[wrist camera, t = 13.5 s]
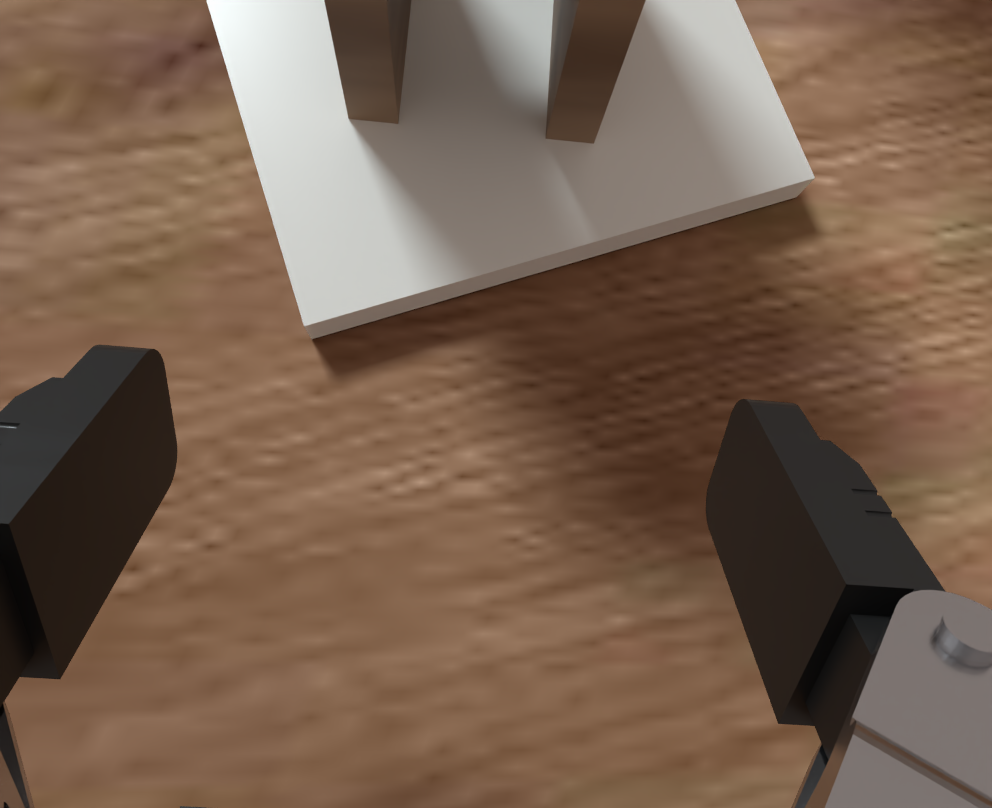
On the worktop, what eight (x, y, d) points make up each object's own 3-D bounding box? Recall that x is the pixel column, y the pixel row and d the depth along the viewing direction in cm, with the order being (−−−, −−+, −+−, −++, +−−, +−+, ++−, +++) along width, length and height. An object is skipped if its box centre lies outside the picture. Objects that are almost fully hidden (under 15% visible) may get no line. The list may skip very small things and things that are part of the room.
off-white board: (311, 339, 18) (303, 326, 17) (178, -103, 20) (165, -136, 19) (796, 197, 20) (815, 178, 19) (623, -195, 22) (631, -230, 21)
